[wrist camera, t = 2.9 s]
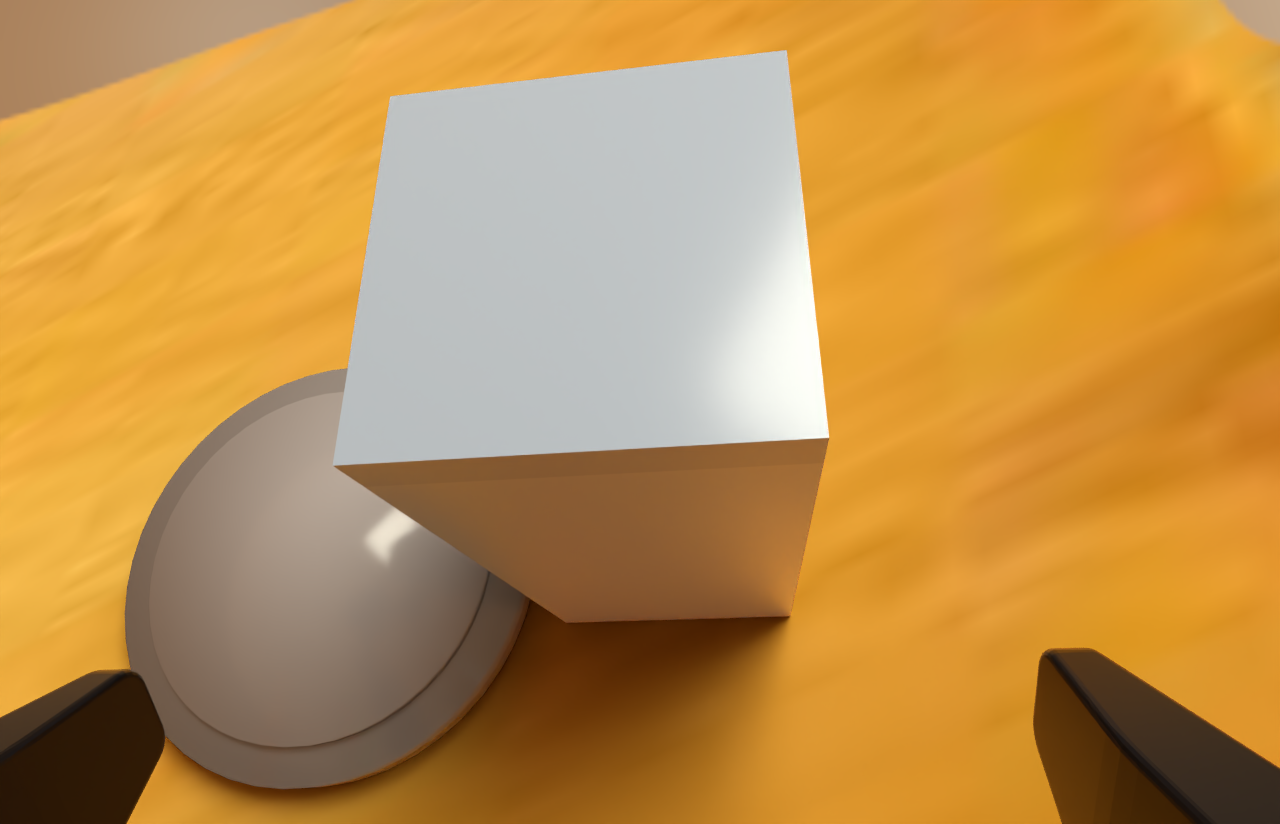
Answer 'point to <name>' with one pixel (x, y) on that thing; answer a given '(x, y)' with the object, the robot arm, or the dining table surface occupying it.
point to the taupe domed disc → (304, 607)
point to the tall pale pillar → (597, 338)
